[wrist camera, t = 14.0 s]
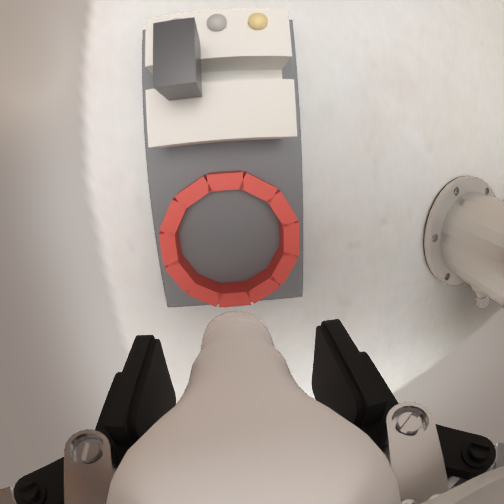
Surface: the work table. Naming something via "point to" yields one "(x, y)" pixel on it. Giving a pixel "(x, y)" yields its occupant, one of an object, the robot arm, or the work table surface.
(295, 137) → the multicoloured piece
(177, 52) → the block
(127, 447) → the robot arm
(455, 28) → the work table surface
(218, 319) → the lightbulb
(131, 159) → the work table surface
